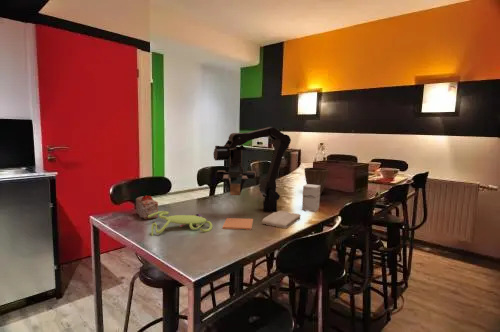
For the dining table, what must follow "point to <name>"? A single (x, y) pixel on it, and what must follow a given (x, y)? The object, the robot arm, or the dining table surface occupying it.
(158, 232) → the figurine
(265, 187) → the robot arm
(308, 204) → the supplement box
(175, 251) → the dining table surface
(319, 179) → the plant pot
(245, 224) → the terracotta tile
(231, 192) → the walnut cube
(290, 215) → the washcloth
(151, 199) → the food item
